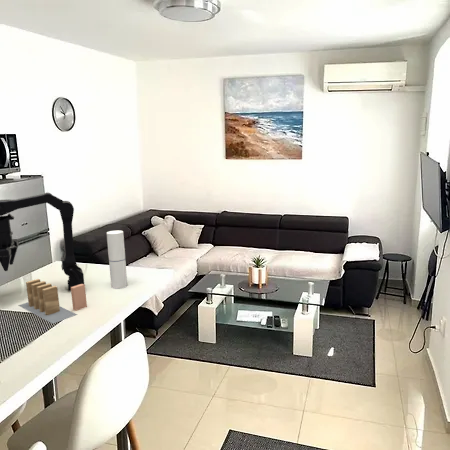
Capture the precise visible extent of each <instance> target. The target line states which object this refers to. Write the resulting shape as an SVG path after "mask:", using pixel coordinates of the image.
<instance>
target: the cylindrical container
mask: <svg viewBox="0 0 450 450" xmlns="http://www.w3.org/2000/svg"><path fill="white" fill-rule="evenodd" d="M124 235H125V234H124V231H123V230H120V229H119V230H109V231H107V232H106V242H107V253H108V264H109V277H110V287H111V288H112V289H113V290H114V289H115V290H117V289H124V288H126V287H128V276H127V265H126V264H127V263H126V251H125V250H126V248H125V238H124Z"/></svg>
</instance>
